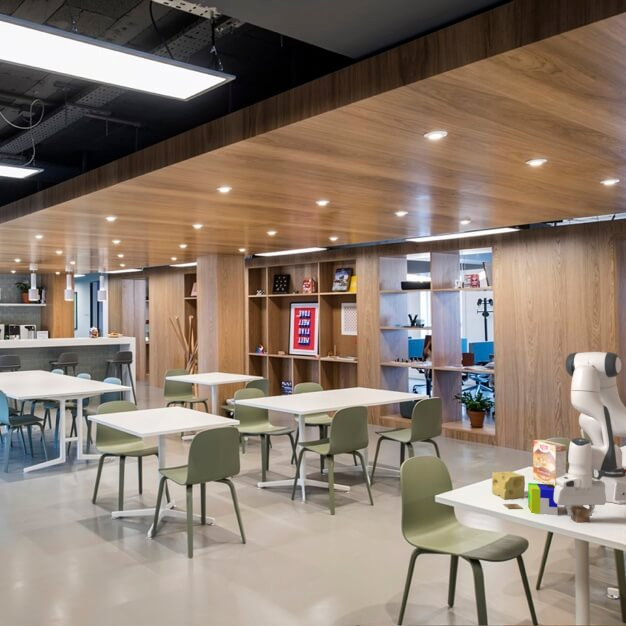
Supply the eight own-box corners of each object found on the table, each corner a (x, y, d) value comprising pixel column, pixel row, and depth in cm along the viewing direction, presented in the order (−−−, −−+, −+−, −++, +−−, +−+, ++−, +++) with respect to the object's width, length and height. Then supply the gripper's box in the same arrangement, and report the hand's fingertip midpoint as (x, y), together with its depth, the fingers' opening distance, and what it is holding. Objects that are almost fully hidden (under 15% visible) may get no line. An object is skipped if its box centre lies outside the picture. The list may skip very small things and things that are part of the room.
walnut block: (582, 518, 249) (582, 505, 249) (589, 522, 244) (589, 509, 244) (570, 518, 248) (570, 506, 249) (577, 522, 243) (577, 509, 244)
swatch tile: (516, 504, 266) (516, 503, 266) (522, 508, 260) (522, 507, 260) (503, 504, 266) (503, 504, 266) (509, 509, 260) (509, 508, 260)
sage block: (573, 509, 262) (573, 497, 262) (583, 512, 257) (583, 500, 257) (564, 510, 260) (564, 498, 260) (573, 513, 255) (573, 501, 255)
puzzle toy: (557, 515, 252) (557, 490, 252) (531, 513, 254) (531, 488, 255) (553, 508, 262) (553, 484, 262) (528, 506, 264) (528, 482, 264)
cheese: (504, 500, 274) (504, 477, 274) (490, 493, 284) (491, 471, 284) (525, 498, 277) (525, 475, 277) (510, 492, 287) (511, 470, 287)
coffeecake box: (532, 479, 312) (532, 440, 313) (543, 478, 315) (543, 439, 315) (554, 486, 298) (555, 445, 299) (566, 485, 301) (566, 444, 302)
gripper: (600, 478, 251) (600, 513, 251) (551, 478, 249) (551, 513, 248) (609, 482, 245) (609, 518, 244) (559, 482, 242) (559, 518, 242)
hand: (579, 516), depth 246 cm, fingers open, 6 cm apart
